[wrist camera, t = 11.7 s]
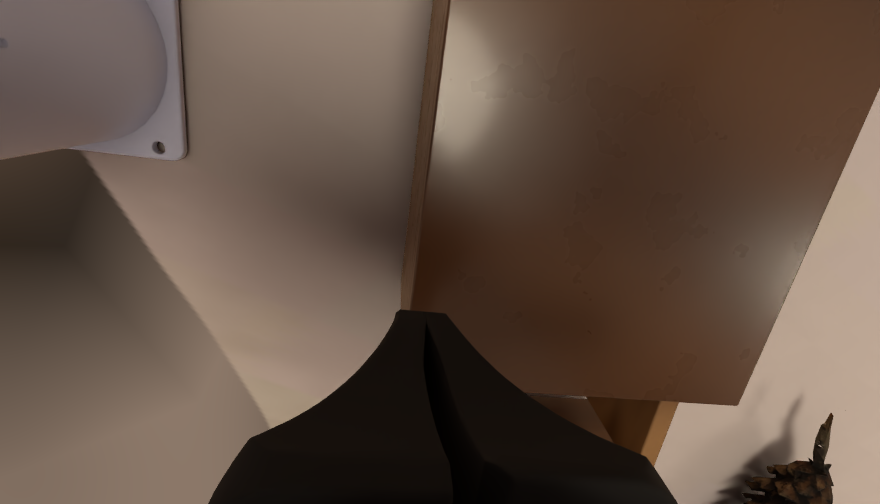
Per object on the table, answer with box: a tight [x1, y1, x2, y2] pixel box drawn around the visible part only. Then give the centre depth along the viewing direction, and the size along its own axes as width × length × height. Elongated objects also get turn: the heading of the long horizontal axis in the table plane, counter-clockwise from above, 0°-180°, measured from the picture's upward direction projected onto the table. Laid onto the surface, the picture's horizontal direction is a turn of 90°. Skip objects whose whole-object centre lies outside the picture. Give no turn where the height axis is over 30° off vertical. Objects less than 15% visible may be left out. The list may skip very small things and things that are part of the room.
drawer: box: [530, 396, 679, 467], centre depth 20 cm, size 18×11×7 cm, turn 172°
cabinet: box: [401, 0, 880, 406], centre depth 17 cm, size 14×12×9 cm
